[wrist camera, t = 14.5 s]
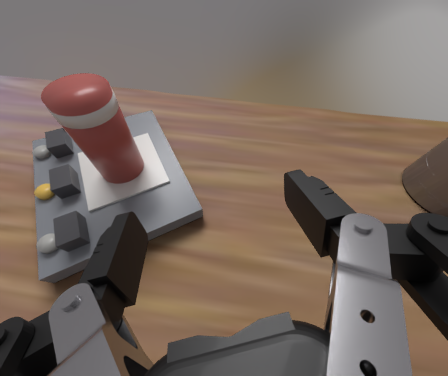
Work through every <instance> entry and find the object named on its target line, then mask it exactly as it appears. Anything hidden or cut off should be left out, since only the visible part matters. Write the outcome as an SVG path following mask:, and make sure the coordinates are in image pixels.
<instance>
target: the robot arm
mask: <svg viewBox="0 0 448 376" xmlns="http://www.w3.org/2000/svg"><path fill="white" fill-rule="evenodd" d="M402 180H403V184H404V186H405V188H406V190H407V192H408V193H409V194H410V196H411V197H412V198H413V199H414V200H415V201H416V202H417V203H418V204H420V205H421V206H422V207H423V208H425V209H426V210H428V211H430V212H431V213H420V214H416V215H414V216H413V217H412V219H411V221H410V223H409V224H383V223H382V222H381V221H379V220H378V219H376V218H374V217H372V216H369V215H366V214H360V213H356V212H355V211H354V210H353V209H352V208H351V207H350V206H349V205H347V204H346V203H345V202H344V201H343V200H342V199H341V198H340V197H339V196H338V195H337V194H336V193H334V191H333V190H332V189H330V188H329V187H328V186H327V185H326V184H325V183H324V182H323V181H322V180H320V179H318V178H315V177H313V176H311V177H307V176H306V175H305V174H304V173H303V171H302V170H300V169H299V170H295V171H291V172H287V173H285V174H284V194H285V201H286V204H287V206H288V208H289V210H290V211H291V213H292V214H293V216H294V217H295V219H296V220H297V222H298V223H299V225H300V226H301V228H302V229H303V231H304V233H305V234H306V236H307V237H308V239H309V240H310V242H311V243H312V245H313V246H314V248H315V249H316V251H317V252H318V254H319V255H320V257H324V256H328V255H330V257H331V258H332V260H333V264H332V272H331V280H330V288H329V296H328V304H327V310H326V316H325V323H324V330H323V329H321V328H319V327H317V326H315V325H312V324H309V323H306V322H302V321H295V320H292V319H291V317H290V314H289V312H285V313H282V314H278V315H274V316H270V317H266V318H262V319H259V320H257V321H256V322H254V323H252V324H251V325H249V326H248V327H246V328H244V329H243V330H241V331H239V332H238V333H236V334H235V335H233V336H231V337H216V336H194V337H190V338H186V339H182V340H179V341H175V342H171V343H168V351H167V354H166V355H165V356H164V357H162V358H161V359H160V360H158V361H157V362H156V363H155V364H153V362H152V361H151V360H150V359H149V358H148V356H147V355H146V354H145V352H144V351H143V349H142V347H141V346H140V344H139V342H138V340H137V338H136V336H135V334H134V333H133V331H132V329H131V327H130V325H129V323H128V322H127V320H126V318H125V317H124V316H123V312H124V308H125V307H128V306H132V305H135V303H136V298H137V293H138V288H139V283H140V279H141V274H142V269H143V264H144V259H145V255H146V250H147V245H148V235H147V232H146V230H145V229H144V227H143V225H142V224H141V222H140V221H139V219H138V217H137V216H136V214H135V213H134V212H132V211H131V212H127V213H123V214H119V215H116V216H115V218H114V220H113V223H112V225H111V227H108V228H107V229H106V231H105V232H104V233H103V234H102V235H101V236H100V238H99V240H98V243H97V245H96V246H97V247H95V249H94V251H93V255H91V257H90V259H89V261H88V264H87V266H86V268H85V270H84V272H83V274H82V276H81V278H80V280H79V282H78V284H77V285H74V286H72V287H71V288H69V289H67V290H66V291H65V292H64V293H62V294H61V295H60V296H59V297H58V299H57V300H56V301H55V302H54V304H53V305H52V307H51V309H50V311H48V312H46V313H44V314H42V315H40V316H38V317H37V318H35V319H33V320H31V321H29V322H28V321H26V320H24V319H23V318H21V317H13V318H10V319H8V320H6V321H4V322H2V323H1V324H0V376H412V370H411V362H410V355H409V347H408V339H407V332H406V324H405V317H404V309H403V301H402V294H401V288H400V285H401V286H402V287H403V288H404V289H405V291H406V292H407V293H408V294H409V295H410V297H411V298H412V299H413V300H414V301H415V302H416V304H417V305H418V306H419V307H420V308H421V310H422V311H423V312H424V313H425V314H426V315H427V317H428V318H429V319H430V320H431V321H432V322H433V324H434V325H435V326H436V327H437V328H438V330H439V331H440V332H441V333H442V334H443V335H444V337H445V338H446V339H447V340H448V277H447V276H446V275H445V274H444V273H443V271H445V272H446V273H447V274H448V138H446V139H445V140H444V141H442V142H441V143H440V144H438V145H437V146H435V147H434V148H433V149H431V150H430V151H429V152H427V153H426V154H424V155H423V156H422V157H420V158H419V159H418V160H416V161H415V162H414V163H412V164H411V165H410V166H408V167H407V168H406V169H405V170H404V172H403V174H402ZM393 279H394V280H393ZM396 280H397V281H396ZM398 282H399V283H398ZM399 284H400V285H399Z"/></svg>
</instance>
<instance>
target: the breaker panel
mask: <svg viewBox="0 0 448 376" xmlns="http://www.w3.org/2000/svg"><path fill="white" fill-rule="evenodd" d="M124 118H125V120H126V123H127V125H128V127H129V129H130V132H131V134H132V136H133V138H134V141H135V143H136V145H137V147H138V150H139V152H140V154H141V156H142V159H143V161H144V168H143V170H142V172H141V173H140V175H139V176H137V177H136V178H135V179H133V180H131V181H129V182H126V183H121V184H115V183H110V182H108V181H106V180H105V179H104V178H103V177H102V175H101V174H100V173H99V172H98V170H97V169H96V168H95V167H94V165H93V164H92V163H91V162H90V160H89V159H88V158H87V157H86V155H85V154H84V153H83V152H82V150H81V149H80V148H79V147H78V145H77V144H76V143H75V142H74V140H73V139H72V138H71V136H70V135H69V134H68V133H67V132H66V131H65V130H64V129H63V128H61V129H57V130H53V131H49V132H45V136H46V138H43V139H39V140H35V141H33V152H32V153H33V162H34V184H35V191H34V195H35V207H36V229H37V245H36V247H37V251H38V273H39V280H40V281H46V282H51V283H55V282H57V281H59V280H62V279H64V278H66V277H68V276H71V275H73V274H75V273H77V272H80V271H82V270H84V269H85V268H86V266H87V264H88V261H89V259H90V257H91V255H93V251H94V249H95V247H97V246H96V245H97V243H98V240H99V238H100V236H101V235H102V234H103V233H104V232H105V231H106V229H107V228H108V227H111V225H112V223H113V220H114V218H115V216H116V215H119V214H123V213H127V212H131V211H132V212H134V213H135V214H136V216H137V217H138V219H139V221H140V222H141V224H142V225H143V227H144V229H145V230H146V232H147V235H148V241H149V240H151V239H153V238H156V237H158V236H160V235H162V234H164V233H167V232H169V231H171V230H173V229H176V228H178V227H180V226H182V225H185V224H187V223H189V222H191V221H193V220H196V219H198V218H200V217H202V216H203V211H202V207H201V205H200V203H199V202H198V200H197V198H196V196H195V194H194V192H193V190H192V188H191V186H190V184H189V182H188V180H187V178H186V176H185V174H184V172H183V170H182V168H181V166H180V164H179V163H178V161H177V159H176V157H175V155H174V153H173V151H172V149H171V147H170V145H169V143H168V141H167V139H166V137H165V135H164V133H163V131H162V129H161V127H160V125H159V124H158V122H157V120H156V118H155V116H154V114H153V112H152V110H151V111H147V112H143V113H139V114H136V115H132V116H128V117H124Z"/></svg>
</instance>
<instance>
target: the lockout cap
mask: <svg viewBox="0 0 448 376" xmlns="http://www.w3.org/2000/svg"><path fill="white" fill-rule="evenodd" d="M41 99H42V101H43V103H44V104H45V105H46V107H47V109H48V110H49V111H50V113H51V114H52V115H53V116H54V118H55V119H56V120H57V121H58V122H59V123H60V124H61V125H62V126H63V128H64V129H65V130H66V131H67V133H68V134H69V135H70V136H71V138H72V139H73V140H74V142H75V143H76V144H77V145H78V147H79V148H80V149H81V150H82V152H83V153H84V154H85V155H86V157H87V158H88V159H89V160H90V162H91V163H92V164H93V165H94V167H95V168H96V169H97V170H98V172H99V173H100V174H101V175H102V177H103V178H104V179H105V180H106V181H108V182H110V183H115V184H121V183H126V182H129V181H131V180H133V179H135V178H136V177H137V176H139V175H140V173H141V172H142V170H143V168H144V161H143V159H142V156H141V154H140V152H139V150H138V147H137V145H136V143H135V141H134V138H133V136H132V134H131V132H130V129H129V127H128V125H127V123H126V120H125V118H124V116H123V114H122V111H121V109H120V107H119V104H118V101H117V99H116V97H115V94H114V92H113V90H112V88H111V87H110V85H109V82H108V81H107V80H106V79H105V78H103V77H101V76H99V75H95V74H86V73H85V74H84V73H83V74H73V75H69V76H65V77H62V78H59V79H57V80H55V81H53V82H52V83H50V84H49V85H47V86H46V87H45V89H44V90H43V92H42V94H41Z"/></svg>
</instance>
